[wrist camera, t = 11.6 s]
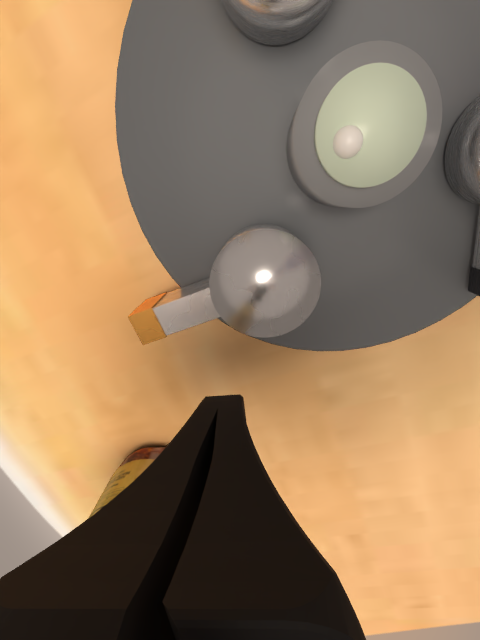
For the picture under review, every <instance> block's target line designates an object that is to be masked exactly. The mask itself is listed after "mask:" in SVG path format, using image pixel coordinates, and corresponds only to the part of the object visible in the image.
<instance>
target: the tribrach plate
mask: <svg viewBox="0 0 480 640" xmlns="http://www.w3.org/2000/svg"><path fill="white" fill-rule="evenodd" d="M479 96H480V0H333V1H332V3H331V5H330V7H329V9H328V10H327V12H326V14H325V15H324V17H323V18H322V19H321V20H320V22H319V23H318V24H317V25H316V26H315V27H314V28H313V29H312V30H311V31H310V32H309V33H307V34H306V35H305V36H303V37H301V38H300V39H298V40H296V41H293V42H291V43H287V44H283V45H266V44H262V43H259V42H256V41H254V40H252V39H250V38H249V37H247V36H246V35H244V34H243V33H242V32H241V31H240V30H239V29H238V28H237V27H236V26H235V25H234V24H233V22H232V21H231V19H230V18H229V16H228V15H227V13H226V11H225V9H224V7H223V4H222V1H221V0H133V1H132V4H131V8H130V11H129V15H128V18H127V22H126V25H125V28H124V32H123V38H122V44H121V50H120V56H119V62H118V68H117V83H116V100H115V113H116V131H117V144H118V150H119V156H120V162H121V168H122V174H123V177H124V181H125V184H126V188H127V191H128V195H129V198H130V202H131V205H132V207H133V210H134V212H135V215H136V217H137V219H138V222H139V224H140V227H141V229H142V231H143V233H144V235H145V237H146V239H147V240H148V242H149V244H150V246H151V248H152V249H153V251H154V253H155V255H156V256H157V258H158V259H159V260H160V262H161V263H162V265H163V266H164V267H165V269H166V270H167V272H168V273H169V274H170V276H171V277H172V278H173V279H174V280H175V281H176V283H177V284H178V285H179V286H180V287H181V288H182V287H185V286H187V285H190V284H193V283H195V282H198V281H201V280H204V279H206V278H209V277H210V273H211V269H212V266H213V263H214V261H215V259H216V257H217V256H218V254H219V253H220V251H221V250H222V248H223V247H224V246H225V244H226V243H227V241H228V240H229V239H230V238H231V237H232V236H233V235H234V234H236V233H237V232H239V231H240V230H242V229H244V228H246V227H249V226H252V225H257V224H272V225H276V226H280V227H282V228H285V229H286V230H288V231H290V232H291V233H292V234H294V235H295V236H296V237H297V238H298V239H299V240H301V241H302V242H303V243H304V244H305V245H306V246H307V247H308V248H309V250H310V251H311V252H312V254H313V255H314V257H315V259H316V261H317V264H318V266H319V270H320V274H321V290H320V295H319V299H318V302H317V304H316V306H315V308H314V310H313V311H312V313H311V314H310V316H309V317H308V318H307V319H306V320H305V321H304V322H303V323H302V324H301V325H300V326H298V327H297V328H295V329H294V330H292V331H290V332H288V333H285V334H283V335H280V336H276V337H268V338H261V337H254V338H257V339H259V340H262V341H265V342H268V343H271V344H275V345H279V346H284V347H288V348H293V349H301V350H312V351H344V350H351V349H359V348H366V347H370V346H375V345H379V344H383V343H387V342H391V341H394V340H396V339H399V338H402V337H405V336H407V335H410V334H413V333H416V332H418V331H420V330H422V329H424V328H426V327H428V326H430V325H432V324H434V323H436V322H438V321H440V320H442V319H443V318H445V317H447V316H448V315H450V314H451V313H453V312H455V311H456V310H458V309H460V308H461V307H463V306H464V305H466V304H467V303H468V302H470V301H471V300H472V299H473V298H475V297H476V296H477V295H476V294H474V293H471V292H469V291H468V284H469V275H470V267H472V265H473V257H474V249H475V241H476V232H477V224H478V216H479V207H480V205H478V204H473V203H471V202H468V201H466V200H464V199H463V198H461V197H460V196H459V195H458V194H457V193H456V192H455V191H454V190H453V188H452V187H451V185H450V183H449V181H448V179H447V175H446V171H445V152H446V146H447V142H448V139H449V136H450V134H451V131H452V129H453V127H454V125H455V124H456V122H457V120H458V119H459V117H460V116H461V114H462V113H463V112H464V111H465V109H466V108H467V107H468V106H469V105H470V104H471V103H472V102H473V101H474V100H475V99H476V98H478V97H479ZM218 319H219V320H221V321H222V322H224V323H225V324H227V323H226V322H225V321H224V320H223V319H222V318H221V317H219V318H218ZM227 325H228V324H227ZM228 326H229V325H228ZM248 336H249V335H248ZM251 337H253V336H251Z"/></svg>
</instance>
